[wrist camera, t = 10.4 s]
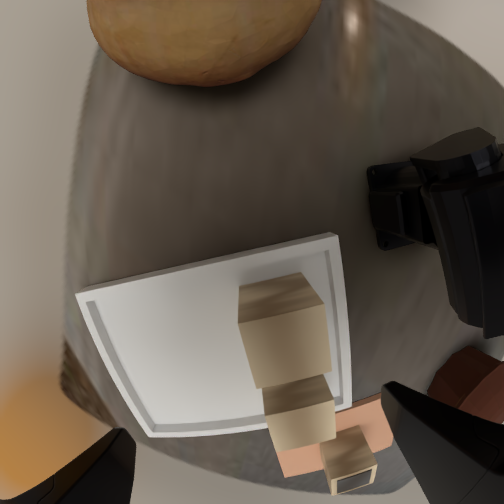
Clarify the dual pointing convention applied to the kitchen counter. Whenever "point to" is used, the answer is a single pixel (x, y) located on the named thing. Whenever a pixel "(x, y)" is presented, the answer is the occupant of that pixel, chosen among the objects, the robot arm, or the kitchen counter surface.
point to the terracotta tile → (360, 413)
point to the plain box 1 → (283, 330)
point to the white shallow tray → (207, 336)
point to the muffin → (471, 384)
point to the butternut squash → (199, 36)
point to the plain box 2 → (299, 413)
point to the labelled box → (348, 461)
